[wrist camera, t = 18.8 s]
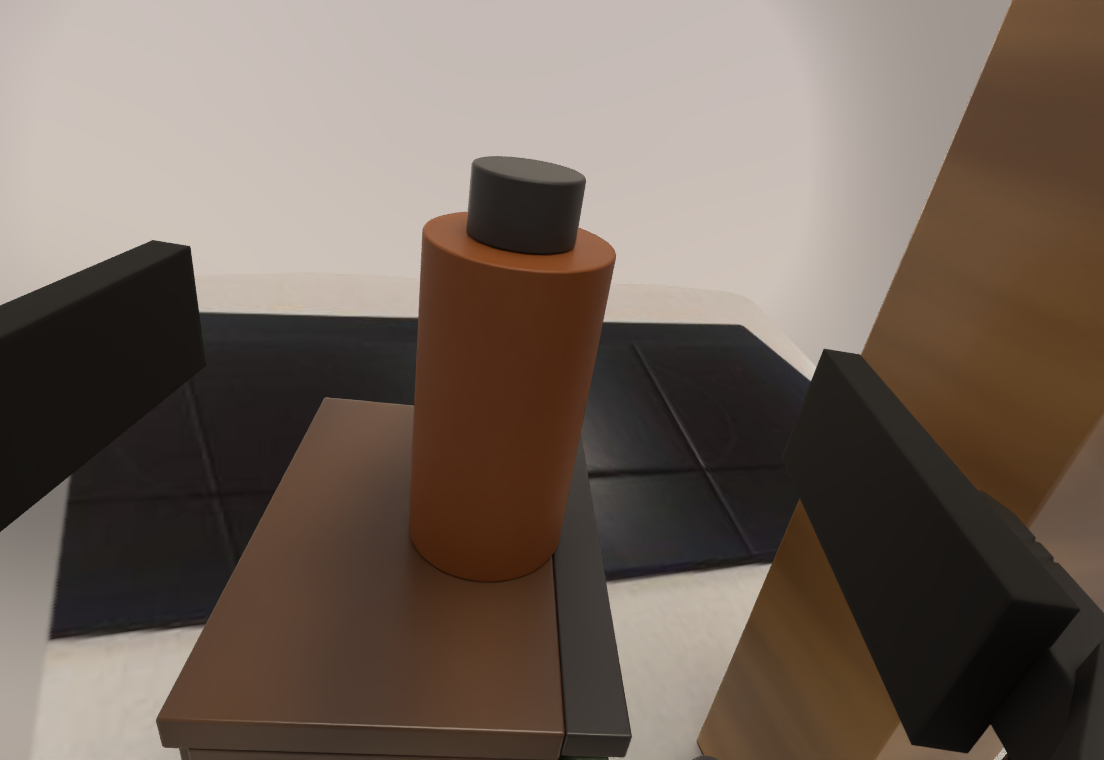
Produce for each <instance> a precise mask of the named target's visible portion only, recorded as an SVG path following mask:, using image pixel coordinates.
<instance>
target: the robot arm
mask: <svg viewBox="0 0 1104 760" xmlns="http://www.w3.org/2000/svg"><path fill="white" fill-rule="evenodd" d="M205 366H206V362H205V354H204V347H203V339H202V332H201V324H200V316H199V309H198V301H197V294H196V286H195V278H194V271H193V264H192V256H191V248H190V246H186V245H179V244H173V243H166V242H161V241H155V240H152V241H150V242H147V243H145V244H143V245H141V246H138V247H136V248H133V249H131V250H129V251H126V252H124V253H122V254H120V255H117V256H115V257H112V258H110V259H108V260H105V261H103V262H101V263H98V264H96V265H94V266H92V267H89V268H87V269H84V270H82V271H80V272H77V273H75V274H73V275H70V276H68V277H66V278H63V279H61V280H59V281H56V282H54V283H52V284H49V285H47V286H45V287H42V288H40V289H38V290H35V291H33V292H31V293H28V294H26V295H24V296H21V297H19V298H17V299H14V300H12V301H10V302H7V303H5V304H3V305H0V532H1V531H2V530H3V529H4V528H6V527H7V526H8V525H9V524H11V523H12V522H13V521H14V520H16V519H17V518H18V517H19V516H21V515H22V514H23V513H24V512H25V511H27V510H28V509H29V508H30V507H32V506H33V505H34V504H35V503H37V502H38V501H39V500H40V499H42V498H43V497H44V496H45V495H47V494H48V493H49V492H50V491H51V490H53V489H54V488H55V487H56V486H58V485H59V484H60V483H61V482H63V481H64V480H65V479H66V478H68V477H69V476H70V475H71V474H73V473H74V472H75V471H76V470H77V469H79V468H80V467H81V466H82V465H84V464H85V463H86V462H87V461H89V460H90V459H91V458H92V457H94V456H95V455H96V454H97V453H99V452H100V451H101V450H102V449H103V448H105V447H106V446H107V445H108V444H110V443H111V442H112V441H113V440H115V439H116V438H117V437H118V436H120V435H121V434H122V433H123V432H125V431H126V430H127V429H128V428H129V427H131V426H132V425H133V424H134V423H136V422H137V421H138V420H139V419H141V418H142V417H143V416H144V415H146V414H147V413H148V412H149V411H150V410H152V409H153V408H154V407H155V406H157V405H158V404H159V403H160V402H162V401H163V400H164V399H165V398H167V397H168V396H169V395H170V394H172V393H173V392H174V391H175V390H176V389H178V388H179V387H180V386H181V385H183V384H184V383H185V382H186V381H188V380H189V379H190V378H191V377H193V376H194V375H195V374H196V373H198V372H199V371H200V370H201V369H202V368H204V367H205ZM781 458H782V460H783V462H784V465H785V467H786V469H787V471H788V473H789V476H790V478H791V480H792V482H793V484H794V487H795V489H796V491H797V493H798V495H799V498H800V500H801V502H802V504H803V507H804V509H805V511H806V513H807V515H808V518H809V520H810V522H811V524H812V526H813V529H814V531H815V533H816V535H817V537H818V540H819V542H820V544H821V546H822V549H823V551H824V553H825V555H826V557H827V560H828V562H829V564H830V566H831V568H832V571H833V573H834V575H835V577H836V579H837V582H838V584H839V586H840V588H841V590H842V593H843V595H844V597H845V599H846V602H847V604H848V606H849V608H850V610H851V613H852V615H853V617H854V619H855V621H856V624H857V626H858V628H859V630H860V632H861V635H862V637H863V639H864V641H865V644H866V646H867V648H868V650H869V652H870V655H871V657H872V659H873V661H874V663H875V666H876V668H877V670H878V672H879V674H880V677H881V679H882V681H883V683H884V686H885V688H886V690H887V692H888V694H889V697H890V699H891V701H892V703H893V705H894V708H895V710H896V712H897V714H898V716H899V719H900V721H901V723H902V725H903V727H904V730H905V732H906V734H907V736H908V739H909V741H910V743H911V745H914V746H921V747H927V748H934V749H940V750H947V751H953V752H960V753H966V754H968V753H969V752H970V750H971V749H972V748H973V746H974V745H975V744H976V743H977V741H978V740H979V739H980V738H981V736H982V735H983V734H984V732H985V731H986V730H987V729H988V727H989V726H990V725H991V726H992V728H993V729H994V731H995V733H996V735H997V736H998V738H999V740H1000V741H1001V743H1002V745H1003V747H1004V748H1005V750H1006V752H1007V754H1006V755H1005V757H1004V758H1003V759H1002V760H1104V612H1103V611H1102V610H1101V609H1100V608H1099V607H1098V606H1097V605H1096V604H1095V602H1094V601H1093V600H1092V599H1091V598H1090V597H1089V596H1088V595H1087V594H1086V592H1085V591H1084V590H1083V589H1082V588H1081V587H1080V586H1079V585H1078V584H1077V582H1076V581H1075V580H1074V579H1073V578H1072V577H1071V576H1070V575H1069V574H1068V572H1067V571H1066V570H1065V569H1064V568H1063V567H1062V566H1061V565H1060V564H1059V563H1056V562H1054V557H1053V556H1052V555H1051V554H1050V553H1049V551H1048V550H1047V549H1046V548H1045V547H1044V546H1043V545H1042V544H1041V543H1040V542H1036V541H1035V539H1036V537H1035V536H1034V535H1033V534H1032V533H1031V531H1030V530H1029V529H1028V528H1027V527H1026V526H1025V525H1024V524H1023V523H1022V521H1021V520H1020V519H1019V518H1018V517H1017V516H1016V515H1015V514H1014V513H1013V512H1012V511H1010V510H1009V509H1008V508H1006V507H1005V506H1004V505H1002V504H1001V503H999V502H998V501H997V500H995V499H994V498H993V497H991V496H990V495H988V494H987V493H986V492H984V491H982V490H977V489H976V488H975V487H974V486H973V484H972V483H971V482H970V481H969V480H968V479H967V477H966V476H965V475H964V474H963V473H962V472H961V470H960V469H959V468H958V467H957V466H956V465H955V464H954V462H953V461H952V460H951V459H950V458H949V457H948V455H947V454H946V453H945V452H944V451H943V450H942V448H941V447H940V446H939V445H938V444H937V443H936V442H935V440H934V439H933V438H932V437H931V436H930V435H929V433H928V432H927V431H926V430H925V429H924V428H923V427H922V425H921V424H920V423H919V422H918V421H917V420H916V418H915V417H914V416H913V415H912V414H911V413H910V411H909V410H908V409H907V408H906V407H905V406H904V405H903V403H902V402H901V401H900V400H899V399H898V398H897V396H896V395H895V394H894V393H893V392H892V391H891V390H890V388H889V387H888V386H887V385H886V384H885V383H884V381H883V380H882V379H881V378H880V377H879V376H878V374H877V373H876V372H875V371H874V370H873V369H872V368H871V366H870V365H869V364H868V363H867V362H866V361H865V359H864V358H863V357H862V356H861V355H859V354H853V353H846V352H841V351H834V350H829V349H824V350H823V352H822V355H821V357H820V360H819V363H818V365H817V368H816V370H815V373H814V375H813V378H812V380H811V383H810V385H809V388H808V390H807V393H806V396H805V398H804V401H803V403H802V406H801V408H800V411H799V413H798V416H797V418H796V421H795V424H794V426H793V429H792V431H791V434H790V436H789V439H788V441H787V444H786V446H785V449H784V452H783V454H782V457H781Z"/></svg>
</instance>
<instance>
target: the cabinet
mask: <svg viewBox="0 0 1104 760" xmlns="http://www.w3.org/2000/svg"><path fill="white" fill-rule="evenodd" d="M413 422H414V406H409V405H398V404H388V403H377V402H367V401H356V400H346V399H335V398H324V400H323V402H322V404H321V406H320V408H319V410H318V411H317V413H316V415H315V417H314V419H313V421H312V423H311V425H310V427H309V429H308V430H307V432H306V434H305V436H304V438H303V440H302V442H301V444H300V446H299V448H298V450H297V451H296V453H295V455H294V457H293V459H292V461H291V463H290V465H289V467H288V469H287V471H286V472H285V474H284V476H283V478H282V480H281V482H280V484H279V486H278V488H277V490H276V492H275V493H274V495H273V497H272V499H271V501H270V503H269V505H268V507H267V509H266V511H265V513H264V514H263V516H262V518H261V520H260V522H259V524H258V526H257V528H256V530H255V532H254V534H253V535H252V537H251V539H250V541H249V543H248V545H247V547H246V549H245V551H244V553H243V554H242V556H241V558H240V560H239V562H238V564H237V566H236V568H235V570H234V572H233V574H232V575H231V577H230V579H229V581H228V583H227V585H226V587H225V589H224V591H223V593H222V595H221V596H220V598H219V600H218V602H217V604H216V606H215V608H214V610H213V612H212V614H211V616H210V617H209V619H208V621H207V623H206V625H205V627H204V629H203V631H202V633H201V635H200V637H199V638H198V640H197V642H196V644H195V646H194V648H193V650H192V652H191V654H190V656H189V658H188V659H187V661H186V663H185V665H184V667H183V669H182V671H181V673H180V675H179V677H178V678H177V680H176V682H175V684H174V686H173V688H172V690H171V692H170V694H169V696H168V698H167V699H166V701H165V703H164V705H163V707H162V709H161V711H160V713H159V715H158V717H157V719H156V723H157V727H158V731H159V735H160V739H161V743H162V746H163V747H165V748H179V750H180V754H181V758H182V760H559V756H560V752H561V754H562V755H568V756H599V757H625V755H626V753H627V750H628V747H629V744H630V741H631V738H632V735H631V729H630V723H629V717H628V711H627V705H626V699H625V693H624V687H623V681H622V675H621V669H620V663H619V657H618V651H617V645H616V639H615V633H614V627H613V621H612V615H611V609H610V603H609V598H608V592H607V586H606V580H605V574H604V568H603V562H602V556H601V550H600V544H599V538H598V532H597V526H596V520H595V514H594V508H593V502H592V496H591V490H590V484H589V478H588V472H587V466H586V460H585V454H584V448H583V442H582V436H581V434H580V439H579V444H578V449H577V454H576V459H575V464H574V469H573V474H572V479H571V484H570V489H569V494H568V499H567V504H566V509H565V514H564V519H563V524H562V529H561V534H560V539H559V543H558V546H557V548H556V550H555V552H554V553H553V555H552V556H551V557H550V558H549V560H548V561H547V562H546V563H544V564H543V565H542V566H541V567H540V568H538V569H536V570H535V571H533V572H531V573H529V574H527V575H525V576H522V577H518V578H515V579H511V580H506V581H497V582H481V581H472V580H467V579H463V578H459V577H456V576H453V575H450V574H448V573H446V572H444V571H442V570H440V569H438V568H436V567H435V566H433V565H432V564H431V563H429V562H428V561H427V560H426V559H425V558H424V557H423V556H422V555H421V554H420V553H419V552H418V550H417V549H416V547H415V546H414V544H413V542H412V540H411V536H410V533H409V507H410V486H411V465H412V443H413Z"/></svg>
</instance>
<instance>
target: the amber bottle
mask: <svg viewBox="0 0 1104 760" xmlns="http://www.w3.org/2000/svg"><path fill="white" fill-rule="evenodd" d="M585 184H586V179H585V177H584V175H582V174H581V173H579V172H577V171H575V170H573V169H570V168H567V167H564V166H561V165H557V164H553V163H548V162H543V161H538V160H532V159H525V158H516V157H501V156H492V157H482V158H478V159H475V160H474V161H473V163H472V167H471V180H470V192H469V204H468V212H459V213H452V214H447V215H443V216H439V217H436V218H434V219H432V220H430V221H428V222H427V223H426V225H425V226H424V228H423V232H422V253H421V274H420V295H419V316H418V337H417V359H416V380H415V401H414V422H413V443H412V465H411V486H410V507H409V533H410V536H411V540H412V542H413V544H414V546H415V547H416V549H417V550H418V552H419V553H420V554H421V555H422V556H423V557H424V558H425V559H426V560H427V561H428V562H429V563H431V564H432V565H433V566H435V567H436V568H438V569H440V570H442V571H444V572H446V573H448V574H450V575H453V576H456V577H459V578H463V579H467V580H472V581H481V582H497V581H506V580H511V579H515V578H518V577H522V576H525V575H527V574H529V573H531V572H533V571H535V570H536V569H538V568H540V567H541V566H542V565H543V564H544V563H546V562H547V561H548V560H549V558H550V557H551V556H552V555H553V553H554V552H555V550H556V548H557V546H558V543H559V539H560V534H561V529H562V524H563V519H564V514H565V509H566V504H567V499H568V494H569V489H570V484H571V479H572V474H573V469H574V464H575V459H576V454H577V449H578V444H579V439H580V434H581V429H582V424H583V419H584V414H585V409H586V404H587V399H588V394H589V389H590V384H591V379H592V374H593V369H594V364H595V359H596V354H597V349H598V344H599V339H600V334H601V329H602V324H603V319H604V314H605V309H606V304H607V299H608V294H609V289H610V284H611V279H612V274H613V269H614V264H615V259H616V254H615V250H614V249H613V248H612V246H611V245H610V244H609V243H608V242H606V241H605V240H603V239H602V238H600V237H598V236H597V235H595V234H592V233H590V232H588V231H586V230H583V229H581V228H578V226H579V220H580V214H581V208H582V202H583V196H584V190H585Z"/></svg>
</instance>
